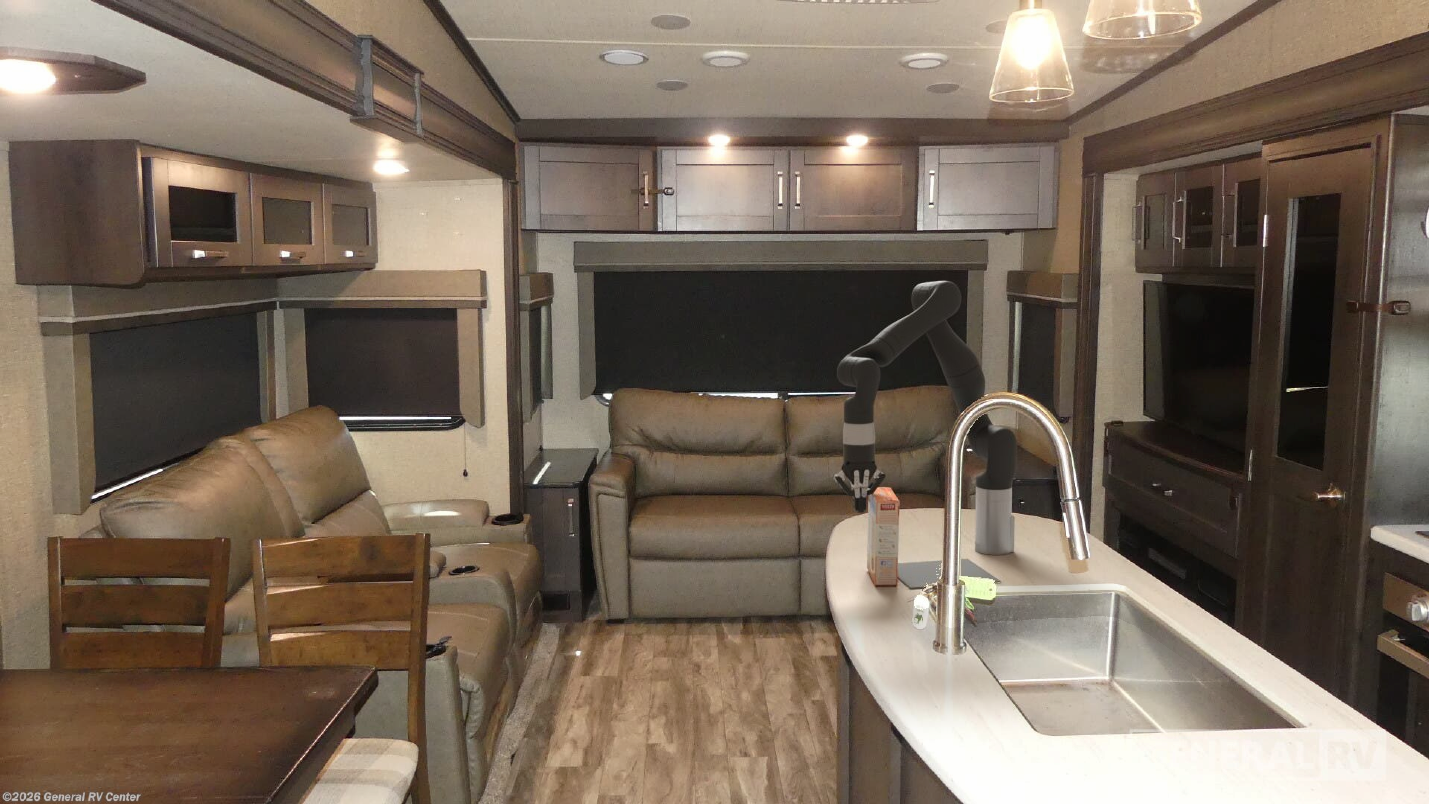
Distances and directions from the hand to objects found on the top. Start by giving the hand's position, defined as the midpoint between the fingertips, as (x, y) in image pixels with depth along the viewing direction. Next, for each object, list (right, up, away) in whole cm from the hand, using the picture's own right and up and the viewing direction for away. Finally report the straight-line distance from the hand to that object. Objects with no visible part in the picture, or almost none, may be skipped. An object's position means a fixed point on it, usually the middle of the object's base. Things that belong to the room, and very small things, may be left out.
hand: (859, 512), depth 256 cm
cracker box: (+6, -16, +3) cm, 18 cm away
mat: (+21, -16, +5) cm, 26 cm away
